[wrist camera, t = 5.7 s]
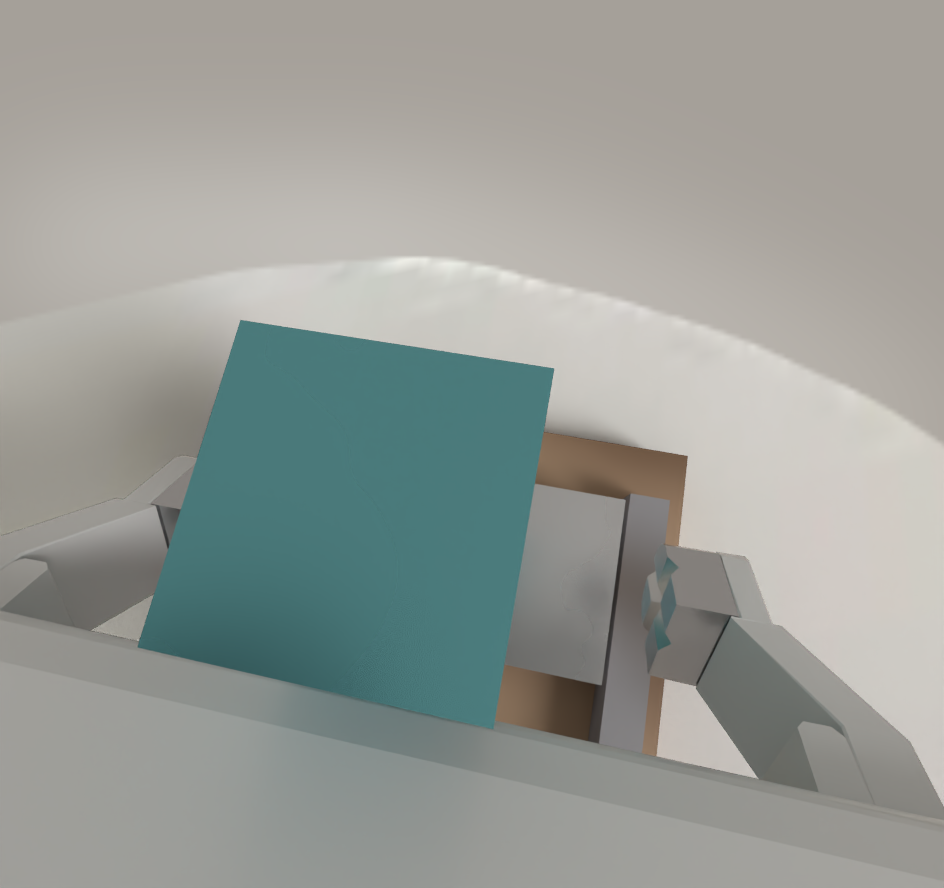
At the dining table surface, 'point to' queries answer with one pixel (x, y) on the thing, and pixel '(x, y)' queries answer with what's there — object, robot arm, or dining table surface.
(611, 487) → the tray
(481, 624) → the track slider block
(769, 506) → the dining table surface
